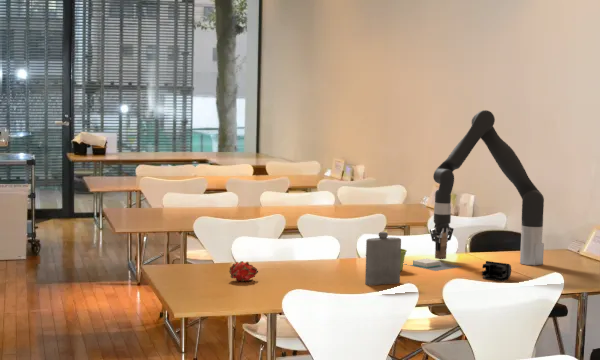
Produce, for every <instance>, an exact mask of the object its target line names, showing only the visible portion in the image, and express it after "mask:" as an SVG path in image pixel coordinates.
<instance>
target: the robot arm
mask: <svg viewBox="0 0 600 360" xmlns="http://www.w3.org/2000/svg"><path fill="white" fill-rule="evenodd" d="M495 121H496V119H495V115H494V114H493V112H492V111H490V110H486V109H485V110H481V111H478V112H477V113H476V114H474V116H473V117H472V119H471V126H470V128H469V129H468V131H467V132H466V134H465V135H464V136H463V138H461V140H460V141H459V142H458V143H457V144H456V146H455V147H454V148H453V150H452V151H451V152H450V154H449V155H448V157H447V158H446V159H445V160H443V161H442V162H441V164H440V165H439V166H437V168H436V169H435V170H434V173H433V180H434V182H435V183H436V184H439V186H438V189H436V191H435V194H434V206H433V223H434V227H433V228H430V229H429V233H430V237H431V241H432V242H434V244H435V248H434V249H436V251H440V242H441V238H442V236H443V233H444V232H446V237H447V243H448V242H449V241H451V240H452V236H453V233H454V228H453V227H450V224H451V220H452V219H451V218H452V217H451V215H452V204H451V203H452V202H451V199H452V195H451V194H452V192H453V188H454V184H455V175H454V171H455V170H459V169H460V167H462V165H463V163H465V161H466V160H467V158H468V157H469V155H471V152H472V150H473V149H474V148H475V146H476V145H477V143H478V142H479V141H480V140H482V142H483V143H484V144H485V146H486V148H487V149H488V151H489V153H490V154H491V156H492V158H493V159H494V161H495V163H496V164H497V165H498V167H499V169H500V171H501V173H503V174H504V176H505V177H506V178H507V179H508V180H509V181H510V182H511V183H512V184H513V186H514V187H515V189H516V191H517V192H518V194H519V196H520V198H521V200H522V201H521V231H520V233H521V234H520V251H519V252H520V255H519V256H520V257H519V263H520V264H522V265H527V266H541V265H544V254H545V253H544V250H545V244H544V243H543V230H544V229H543V227H544V206H545V203H544V202H545V198H544V195H543V194H542V192H541V191H540V190H539V189H538V188H537V187H536V185H535V184H534V183H533V182H532V180H531V178H530V177H529V175H528V173H527V171H526V169H525V167H524V166H523V164H522V162H521V160H520V158H519V157H518V156H517V154H516V152H515V151H514V149H512V147H511V146H510V145H508V143H507V142H506V141H504V140H503V138H501V137H500V136H499V134H498V132H497V131H496V129H495V127H494V125H495ZM437 235H440V236H437ZM447 249H448V247H447V248H446V250H447Z"/></svg>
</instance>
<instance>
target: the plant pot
mask: <svg viewBox="0 0 600 360" xmlns="http://www.w3.org/2000/svg"><path fill="white" fill-rule="evenodd" d="M406 252H407V249H405V248H401V260H400V272H401V271H403V267H404V264H403V263H404V262H405V256H406V254H407V253H406Z"/></svg>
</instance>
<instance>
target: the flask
mask: <svg viewBox="0 0 600 360" xmlns="http://www.w3.org/2000/svg"><path fill="white" fill-rule="evenodd" d="M388 235H389V234H388V232H386V231H380V232H379V233H378V237H375V238H374V237H373V238H367V239H366V241H365V242H366V245H365V275H364V276H365V285H367V286H380V285H395V284H396V285H398V284H400V282H401V271H400V260H401V249H402V239H401V238H399V237H388Z"/></svg>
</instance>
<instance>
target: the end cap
mask: <svg viewBox="0 0 600 360" xmlns="http://www.w3.org/2000/svg"><path fill="white" fill-rule="evenodd" d="M482 269H485V270H483V271H481V273H482V274H481V275H482V276H483V277H482V279H483V280H489V281H495V282H496V281H498V282H507V281H508V280H509V279H510V277H511V274H512V266H511V264H509V263H506V262H505V263H503V262H496V261H490V260H489V261H488V260H486V261H485V263H483V264H482Z"/></svg>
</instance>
